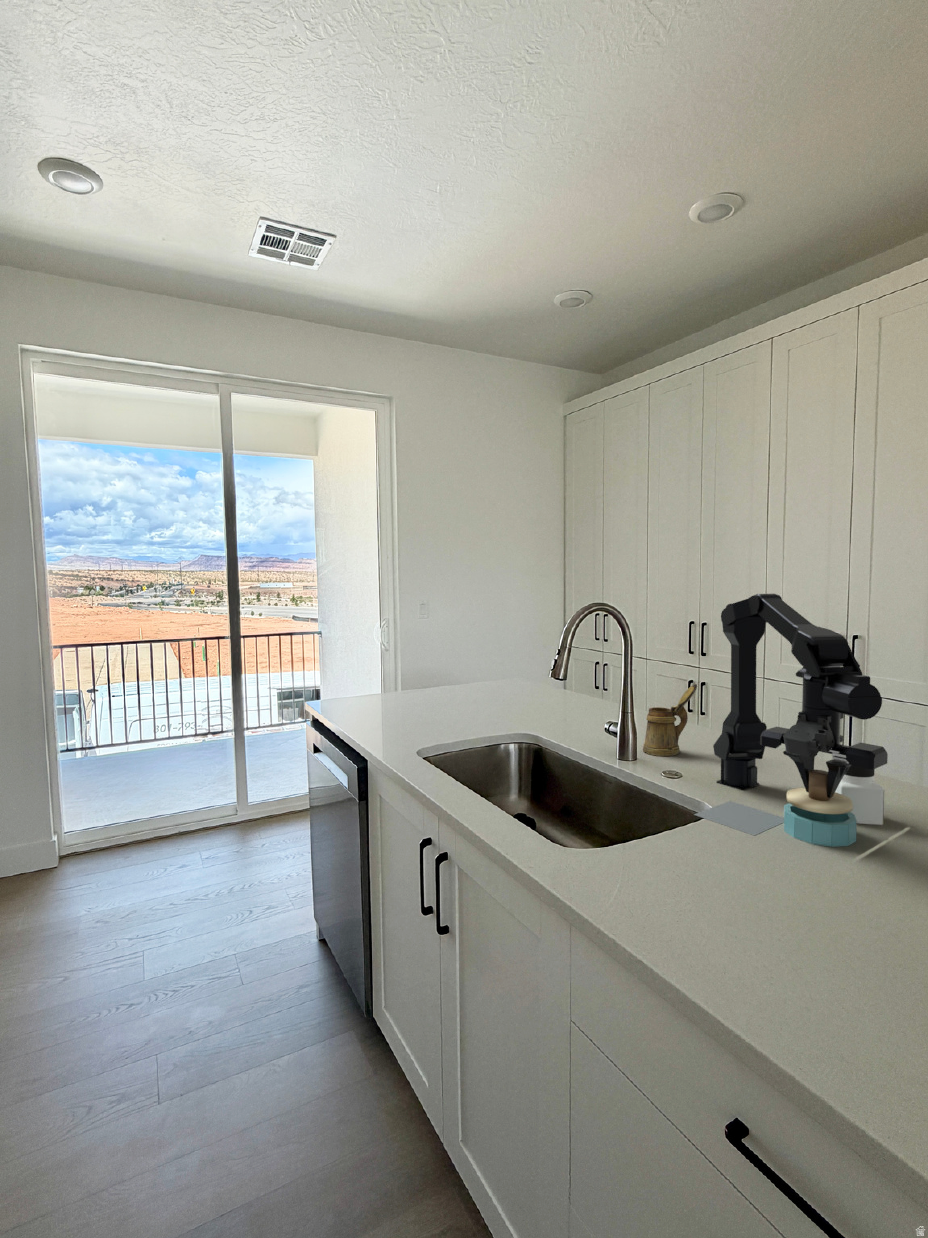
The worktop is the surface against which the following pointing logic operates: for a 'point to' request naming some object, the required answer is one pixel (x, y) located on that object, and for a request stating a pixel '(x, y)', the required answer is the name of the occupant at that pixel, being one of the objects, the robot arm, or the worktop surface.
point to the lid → (819, 796)
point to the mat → (741, 817)
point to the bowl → (820, 826)
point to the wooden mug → (666, 727)
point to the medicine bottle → (863, 795)
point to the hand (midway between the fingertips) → (819, 794)
